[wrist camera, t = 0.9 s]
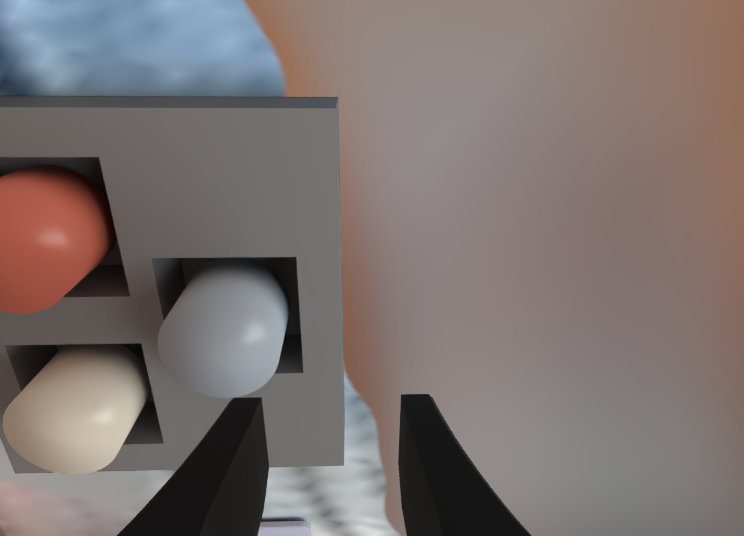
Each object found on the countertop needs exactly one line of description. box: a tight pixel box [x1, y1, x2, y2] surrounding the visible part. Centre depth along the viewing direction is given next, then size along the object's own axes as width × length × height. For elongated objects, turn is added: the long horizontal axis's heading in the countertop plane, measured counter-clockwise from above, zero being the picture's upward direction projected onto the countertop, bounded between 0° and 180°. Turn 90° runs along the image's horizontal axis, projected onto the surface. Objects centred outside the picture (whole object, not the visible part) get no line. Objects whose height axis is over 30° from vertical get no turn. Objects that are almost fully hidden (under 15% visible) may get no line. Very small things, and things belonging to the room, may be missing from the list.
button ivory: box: [2, 344, 151, 475], centre depth 19 cm, size 4×4×3 cm
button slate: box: [157, 257, 290, 398], centre depth 18 cm, size 4×4×3 cm
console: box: [0, 96, 345, 473], centre depth 20 cm, size 15×14×3 cm
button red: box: [0, 164, 117, 314], centre depth 16 cm, size 4×4×3 cm
